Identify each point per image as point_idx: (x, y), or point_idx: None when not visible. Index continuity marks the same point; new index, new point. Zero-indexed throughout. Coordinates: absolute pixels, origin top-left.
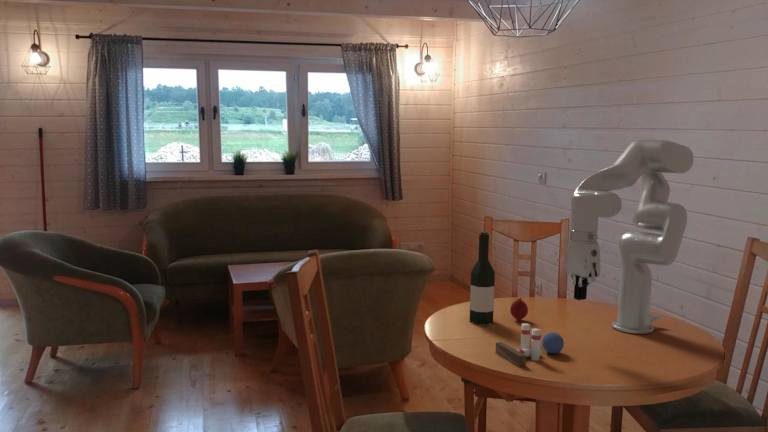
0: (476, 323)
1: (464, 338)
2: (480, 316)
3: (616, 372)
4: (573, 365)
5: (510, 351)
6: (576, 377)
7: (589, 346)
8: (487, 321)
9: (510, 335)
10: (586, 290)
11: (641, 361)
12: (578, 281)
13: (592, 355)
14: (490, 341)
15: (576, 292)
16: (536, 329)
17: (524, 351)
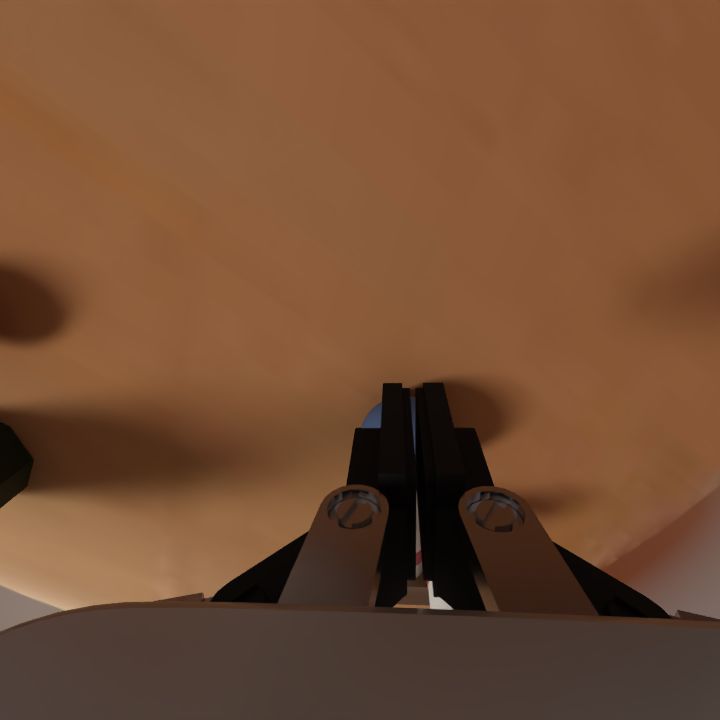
0: (24, 487)
1: (183, 580)
2: (1, 498)
3: (706, 318)
4: (549, 424)
5: (424, 603)
6: (644, 481)
7: (386, 209)
8: (19, 461)
9: (172, 445)
10: (455, 436)
11: (691, 80)
12: (378, 596)
13: (495, 280)
14: (226, 532)
15: (419, 524)
16: (446, 604)
17: (418, 549)
